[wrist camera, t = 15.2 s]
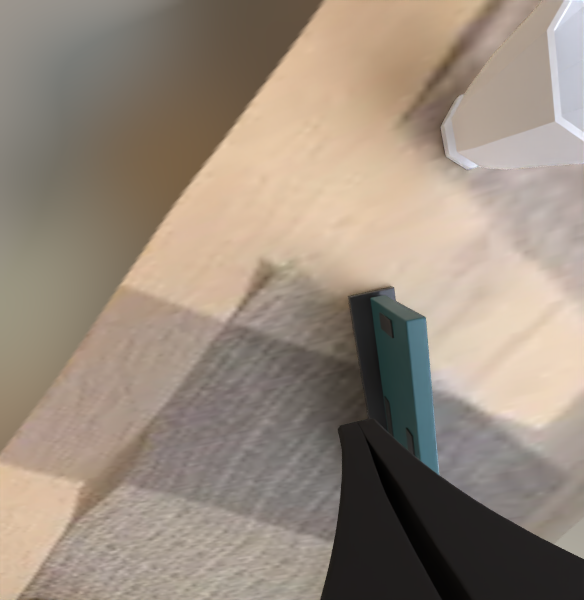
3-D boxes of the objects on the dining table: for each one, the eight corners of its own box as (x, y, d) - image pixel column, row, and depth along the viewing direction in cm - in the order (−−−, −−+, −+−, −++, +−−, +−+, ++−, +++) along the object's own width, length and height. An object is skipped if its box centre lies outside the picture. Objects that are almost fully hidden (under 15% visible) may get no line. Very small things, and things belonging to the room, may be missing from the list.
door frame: (423, 483, 23) (535, 669, 13) (374, 494, 23) (451, 690, 13) (399, 284, 19) (533, 339, 9) (340, 297, 19) (413, 366, 9)
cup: (395, 121, 17) (505, 22, 9) (539, -9, 16) (810, -253, 8) (458, 217, 18) (601, 204, 10) (593, 104, 17) (866, -6, 9)
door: (403, 450, 21) (443, 516, 16) (389, 454, 21) (424, 520, 16) (385, 294, 18) (426, 316, 13) (368, 297, 18) (403, 321, 13)
